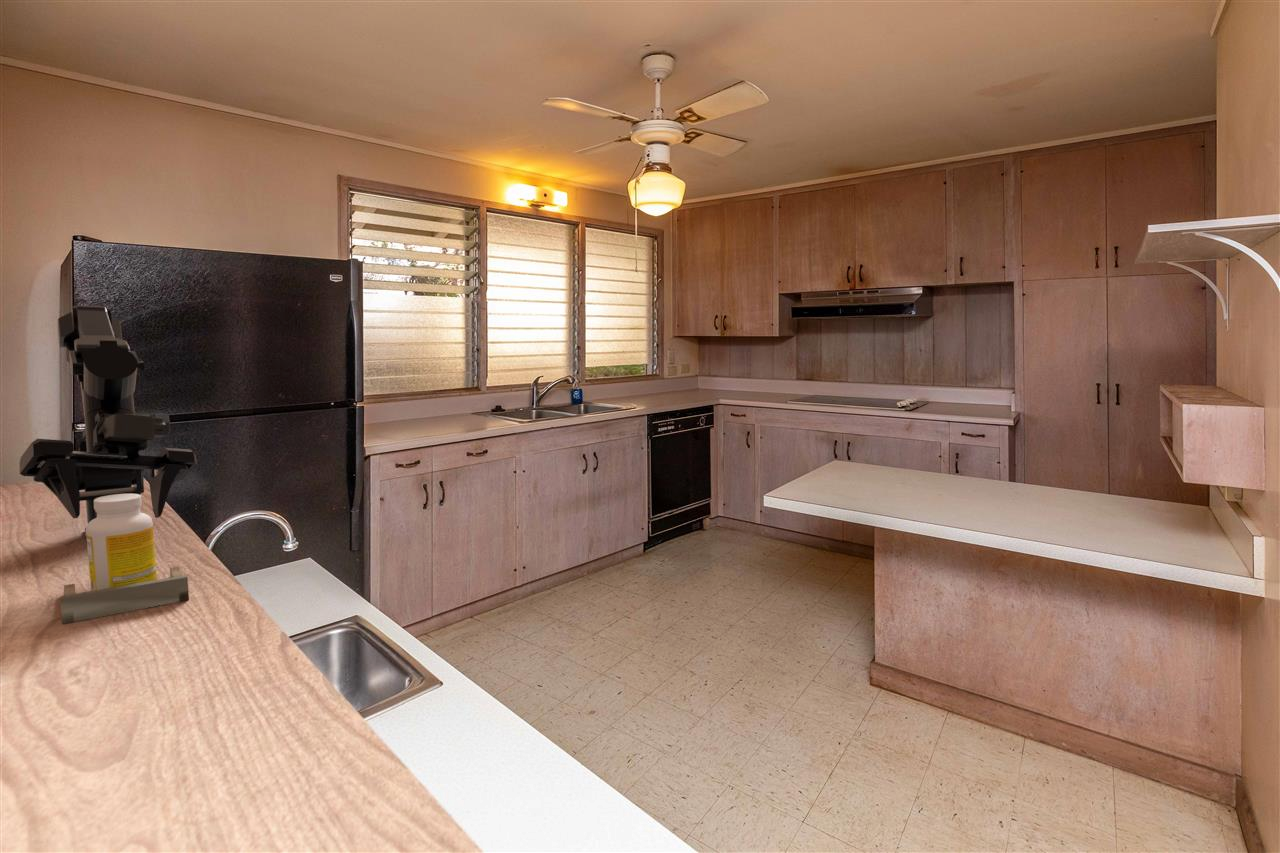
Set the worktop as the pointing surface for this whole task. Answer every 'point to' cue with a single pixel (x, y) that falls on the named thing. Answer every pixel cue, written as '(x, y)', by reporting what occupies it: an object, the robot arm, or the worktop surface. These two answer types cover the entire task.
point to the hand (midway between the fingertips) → (119, 516)
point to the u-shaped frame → (123, 597)
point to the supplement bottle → (120, 543)
